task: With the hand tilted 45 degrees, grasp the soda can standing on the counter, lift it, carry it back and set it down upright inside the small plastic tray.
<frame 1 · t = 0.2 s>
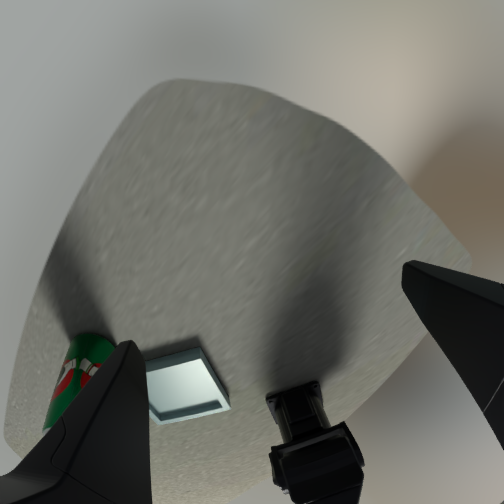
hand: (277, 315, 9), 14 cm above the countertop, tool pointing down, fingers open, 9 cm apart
tray: (176, 385, 29), on the countertop
soda can: (95, 347, 26), on the countertop
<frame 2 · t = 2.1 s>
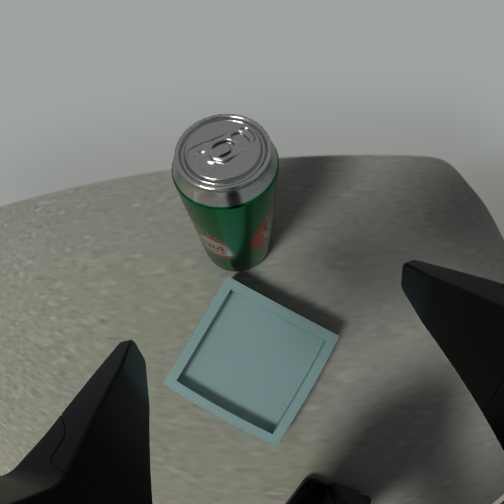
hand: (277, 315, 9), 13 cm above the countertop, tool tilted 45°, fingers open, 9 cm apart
tray: (251, 362, 21), on the countertop
soda can: (237, 243, 24), on the countertop
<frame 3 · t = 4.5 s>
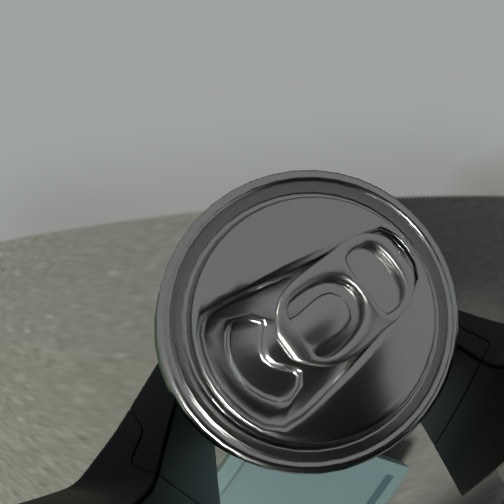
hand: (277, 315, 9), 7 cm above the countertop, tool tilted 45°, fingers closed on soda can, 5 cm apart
tray: (291, 499, 12), on the countertop
soda can: (272, 343, 15), on the countertop, touching gripper
when the fingers open (9 cm above the countertop, at t = 7.6 s): soda can drops 1 cm, resting on tray.
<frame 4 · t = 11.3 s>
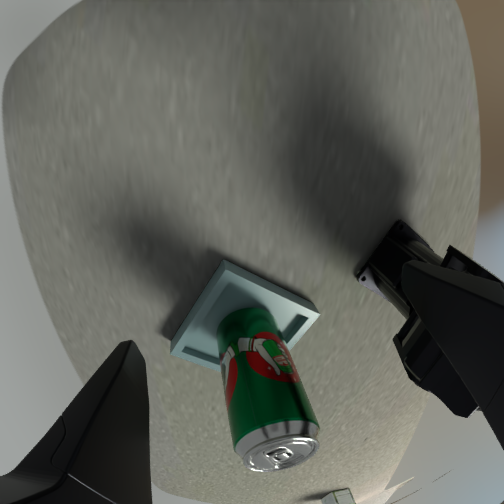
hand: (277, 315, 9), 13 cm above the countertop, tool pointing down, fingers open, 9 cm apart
tray: (242, 324, 25), on the countertop
syrup box: (334, 492, 55), on the countertop
soda can: (246, 326, 25), point 1 cm above the countertop, touching tray
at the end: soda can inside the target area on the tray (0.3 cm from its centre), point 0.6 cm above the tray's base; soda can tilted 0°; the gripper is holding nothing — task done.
